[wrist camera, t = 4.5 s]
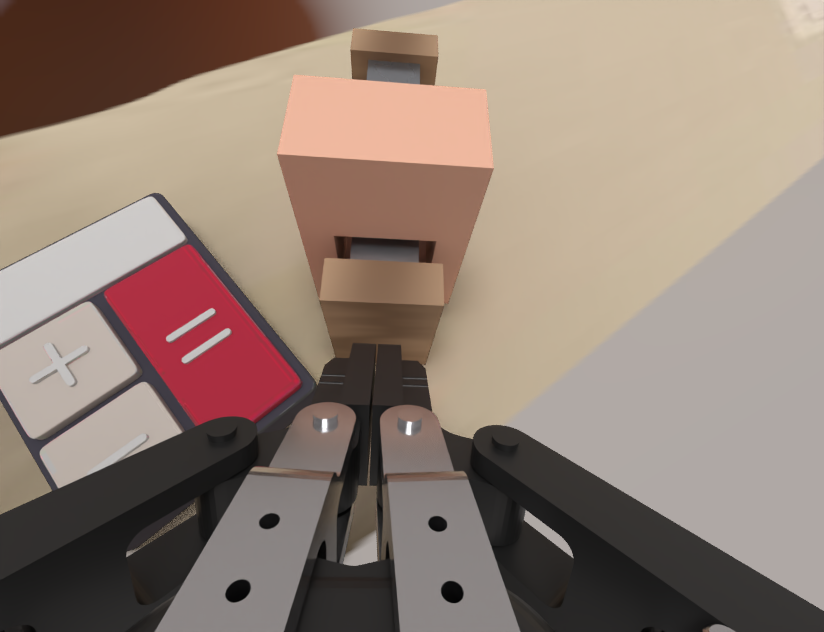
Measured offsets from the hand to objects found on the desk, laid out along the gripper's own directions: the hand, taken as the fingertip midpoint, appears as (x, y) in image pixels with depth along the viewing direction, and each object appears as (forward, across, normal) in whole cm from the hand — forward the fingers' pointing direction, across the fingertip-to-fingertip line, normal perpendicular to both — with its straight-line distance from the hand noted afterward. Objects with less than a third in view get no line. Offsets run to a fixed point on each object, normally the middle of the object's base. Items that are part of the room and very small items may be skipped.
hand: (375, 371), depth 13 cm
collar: (+12, 0, 0) cm, 12 cm away
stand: (+16, 0, -2) cm, 16 cm away
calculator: (+10, +12, +5) cm, 16 cm away
